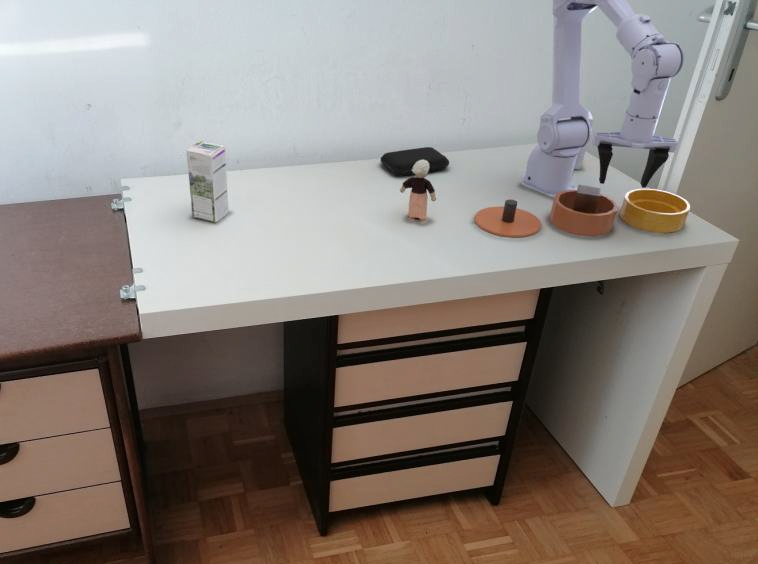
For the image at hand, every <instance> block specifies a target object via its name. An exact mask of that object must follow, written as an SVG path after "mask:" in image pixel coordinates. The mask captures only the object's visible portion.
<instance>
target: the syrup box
mask: <svg viewBox="0 0 758 564" xmlns="http://www.w3.org/2000/svg"><path fill="white" fill-rule="evenodd" d="M226 154H227V153H226V146H225V145H223V144H218V143H212V142H206V141H198V142H196V143H195V144H193V145H192V146H190V147H188V149H186V160H187V170H188V171H187V173H188V183H189V192H190V193H189V196H190V204H191V206H190V207H191V216H192V218H194V219H198V220H202V221H206V222H211V223H217V222H219V221H220V220H222V218H224V217H225V216H226V215H228V214H229V213H230V208H229V193H228V176H227V174H228V173H227V155H226Z"/></svg>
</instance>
